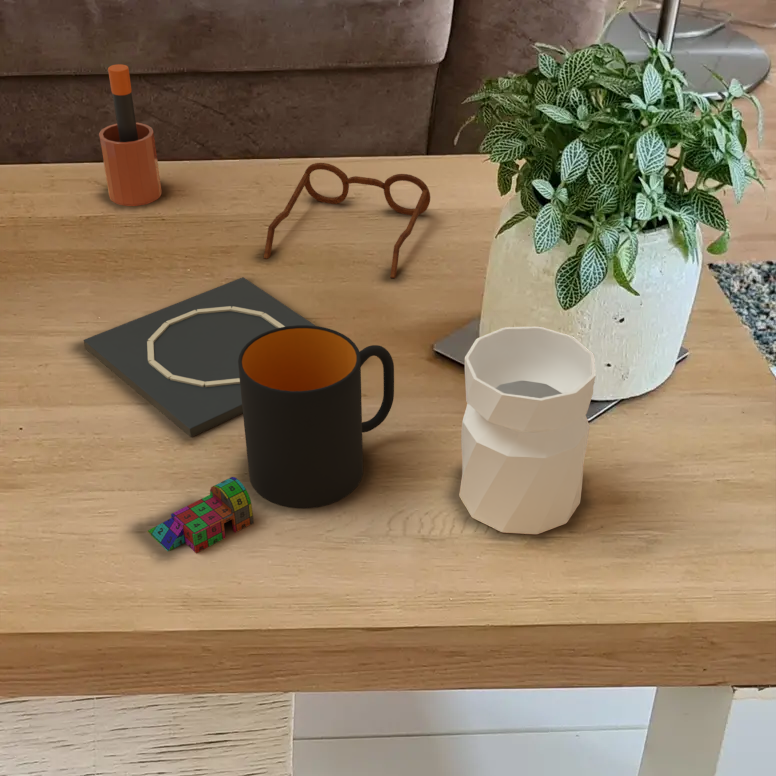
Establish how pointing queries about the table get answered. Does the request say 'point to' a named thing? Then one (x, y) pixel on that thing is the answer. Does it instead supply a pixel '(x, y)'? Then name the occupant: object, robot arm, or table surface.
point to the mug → (307, 413)
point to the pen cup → (131, 166)
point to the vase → (525, 428)
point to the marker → (123, 102)
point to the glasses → (305, 181)
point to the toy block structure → (207, 518)
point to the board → (193, 352)
